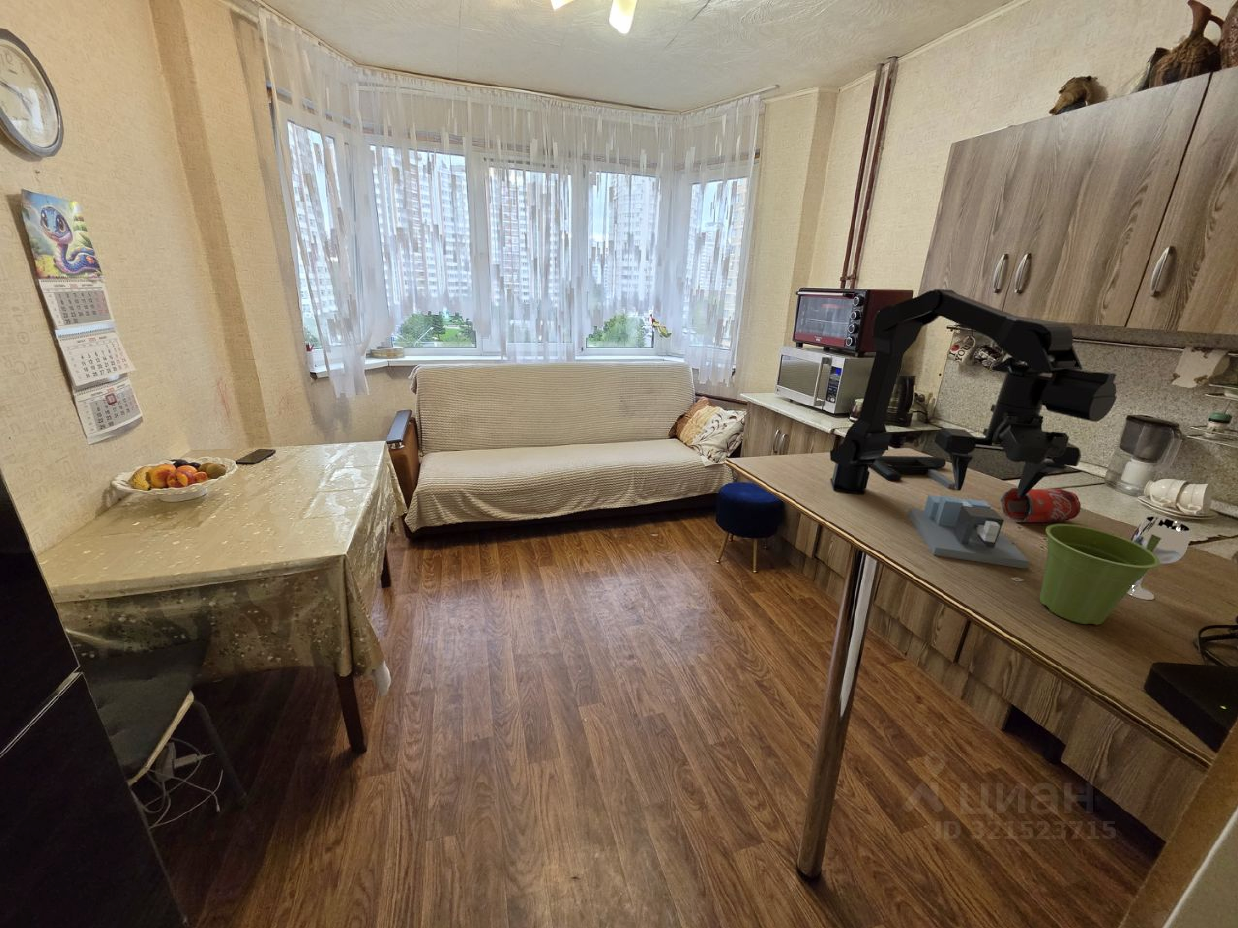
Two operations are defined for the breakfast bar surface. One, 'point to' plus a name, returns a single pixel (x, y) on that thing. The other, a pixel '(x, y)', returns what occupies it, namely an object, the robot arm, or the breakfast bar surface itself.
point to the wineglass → (1159, 545)
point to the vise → (941, 540)
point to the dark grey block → (972, 517)
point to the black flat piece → (911, 468)
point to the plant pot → (1090, 571)
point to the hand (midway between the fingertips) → (988, 493)
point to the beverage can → (1041, 505)
